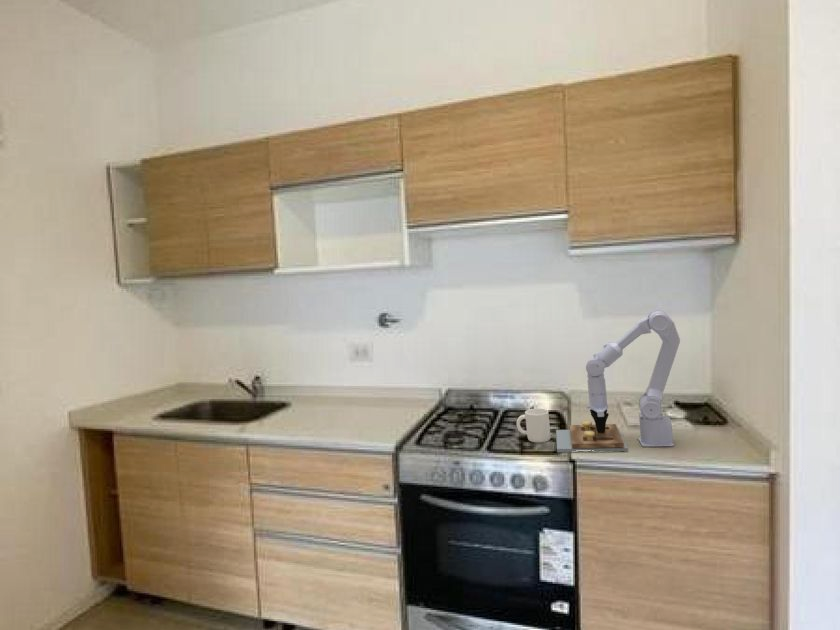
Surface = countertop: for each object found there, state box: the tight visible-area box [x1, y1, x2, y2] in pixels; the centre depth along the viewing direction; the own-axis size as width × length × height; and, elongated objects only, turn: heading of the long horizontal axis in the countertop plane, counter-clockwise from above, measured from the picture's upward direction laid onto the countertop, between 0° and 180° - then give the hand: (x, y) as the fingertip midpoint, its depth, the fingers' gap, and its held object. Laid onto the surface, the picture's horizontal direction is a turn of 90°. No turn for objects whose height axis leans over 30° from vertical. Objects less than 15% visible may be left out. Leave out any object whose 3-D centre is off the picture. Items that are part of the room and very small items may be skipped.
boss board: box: [555, 420, 629, 453], centre depth 166 cm, size 22×20×5 cm
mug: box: [516, 408, 551, 444], centre depth 175 cm, size 12×8×10 cm
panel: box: [569, 423, 624, 448], centre depth 165 cm, size 16×20×5 cm
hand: (600, 431), depth 165 cm, fingers closed on panel, 2 cm apart
